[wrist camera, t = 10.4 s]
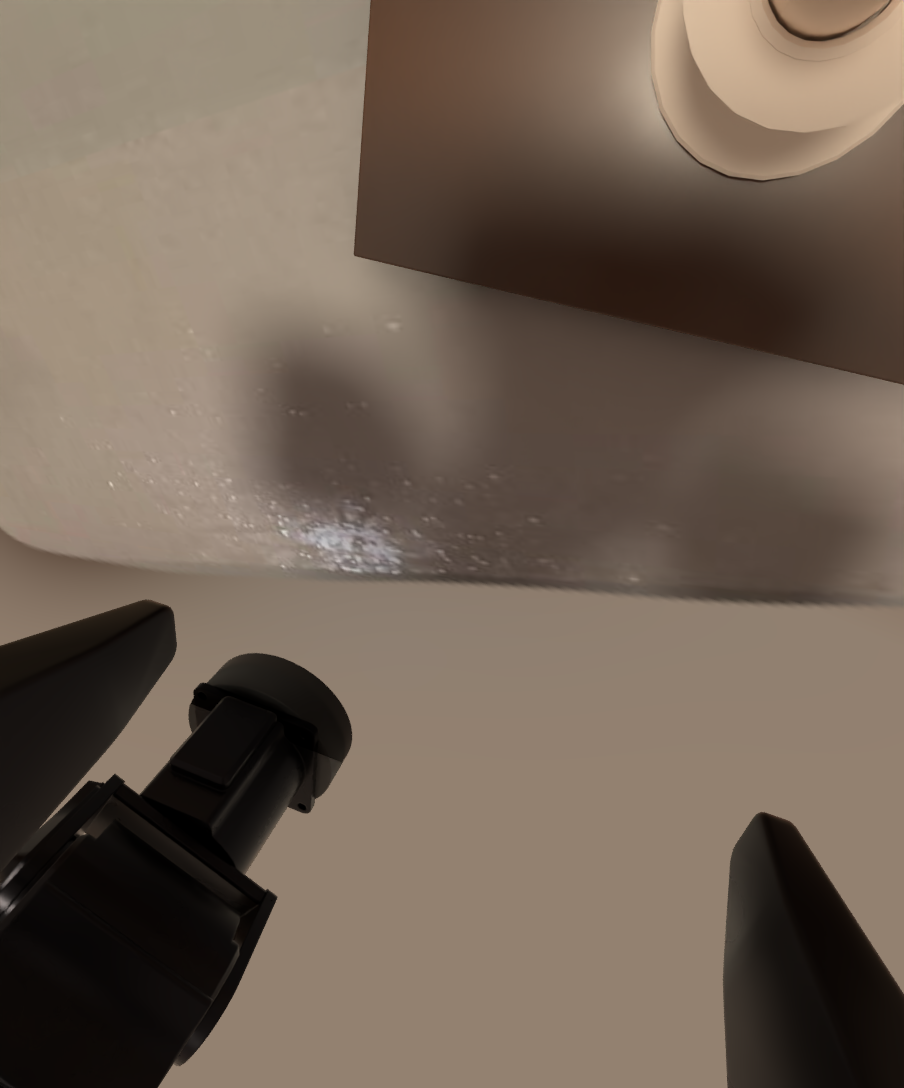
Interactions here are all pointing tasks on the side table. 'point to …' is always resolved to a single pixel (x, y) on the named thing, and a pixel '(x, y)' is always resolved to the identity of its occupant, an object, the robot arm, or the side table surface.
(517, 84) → the walnut board
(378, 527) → the side table surface
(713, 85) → the candle
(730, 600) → the side table surface
